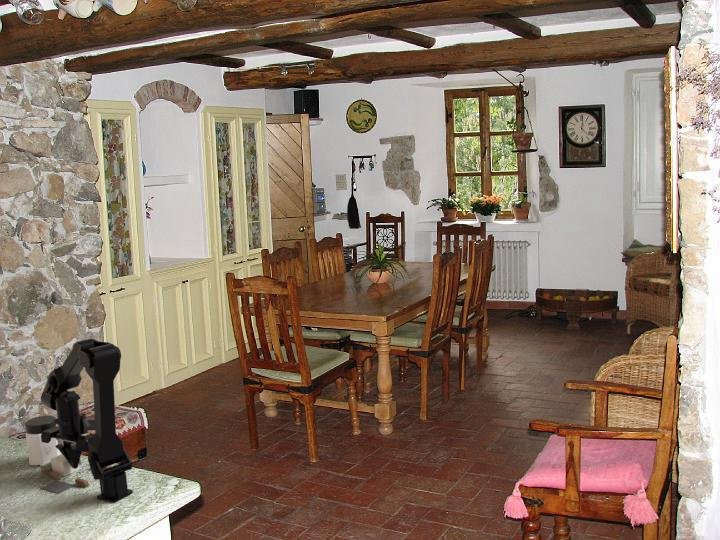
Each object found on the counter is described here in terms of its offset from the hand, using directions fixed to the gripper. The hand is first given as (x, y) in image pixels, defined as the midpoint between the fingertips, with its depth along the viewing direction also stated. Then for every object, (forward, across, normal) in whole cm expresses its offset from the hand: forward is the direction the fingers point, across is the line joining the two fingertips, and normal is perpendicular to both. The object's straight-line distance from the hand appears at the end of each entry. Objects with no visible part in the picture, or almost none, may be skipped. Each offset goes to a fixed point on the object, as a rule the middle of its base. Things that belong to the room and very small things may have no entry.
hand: (75, 468), depth 205 cm
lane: (+2, -1, 0) cm, 2 cm away
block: (+2, +4, 0) cm, 4 cm away
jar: (+2, +16, -2) cm, 16 cm away
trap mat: (+2, -2, +8) cm, 8 cm away
